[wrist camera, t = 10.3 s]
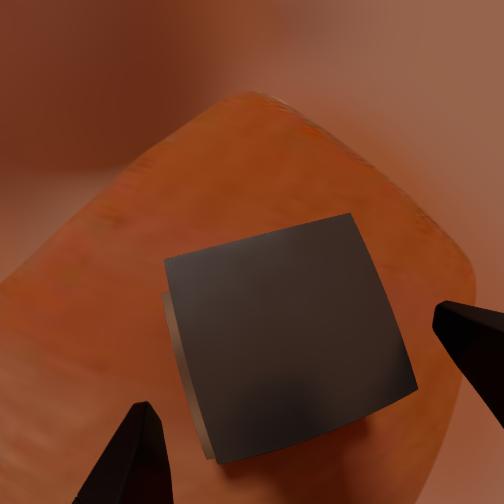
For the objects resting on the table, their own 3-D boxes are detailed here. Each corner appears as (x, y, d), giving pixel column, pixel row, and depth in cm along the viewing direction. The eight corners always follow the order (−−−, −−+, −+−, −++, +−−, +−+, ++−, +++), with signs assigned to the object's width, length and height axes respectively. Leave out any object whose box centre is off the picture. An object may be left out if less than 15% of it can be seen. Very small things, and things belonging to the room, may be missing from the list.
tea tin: (336, 386, 17) (418, 389, 8) (231, 420, 16) (218, 464, 7) (303, 289, 19) (350, 212, 10) (202, 317, 18) (163, 259, 9)
